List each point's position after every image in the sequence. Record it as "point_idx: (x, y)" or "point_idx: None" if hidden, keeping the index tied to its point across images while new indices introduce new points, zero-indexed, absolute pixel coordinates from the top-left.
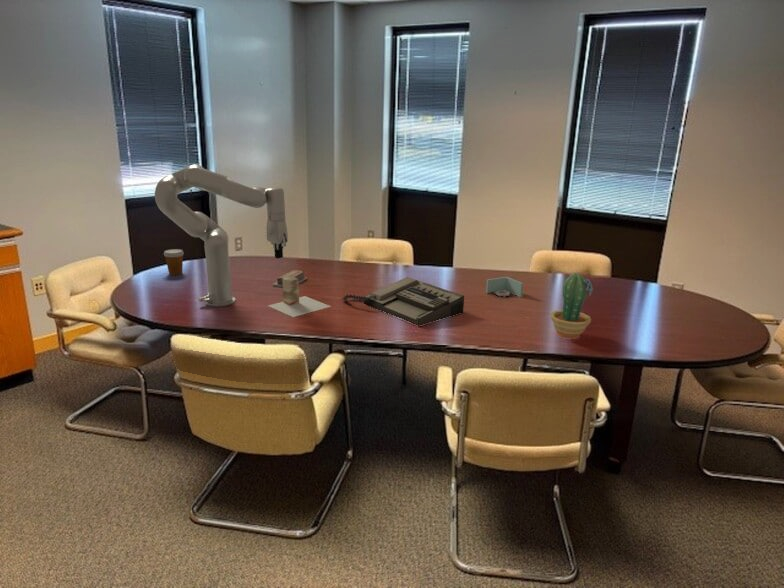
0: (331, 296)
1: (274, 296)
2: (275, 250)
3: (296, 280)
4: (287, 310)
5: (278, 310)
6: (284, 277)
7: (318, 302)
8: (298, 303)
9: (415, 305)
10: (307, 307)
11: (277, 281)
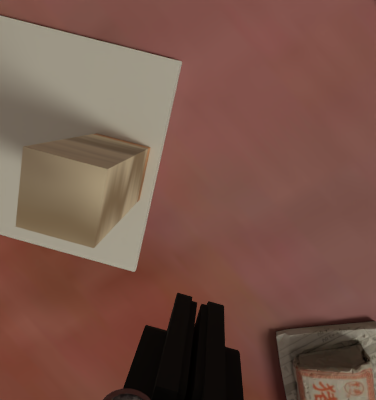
0: (59, 329)
1: (262, 207)
2: (198, 385)
3: (22, 208)
4: (50, 65)
5: (83, 37)
6: (341, 386)
7: (28, 234)
8: None
9: None
10: (14, 155)
11: (364, 350)
